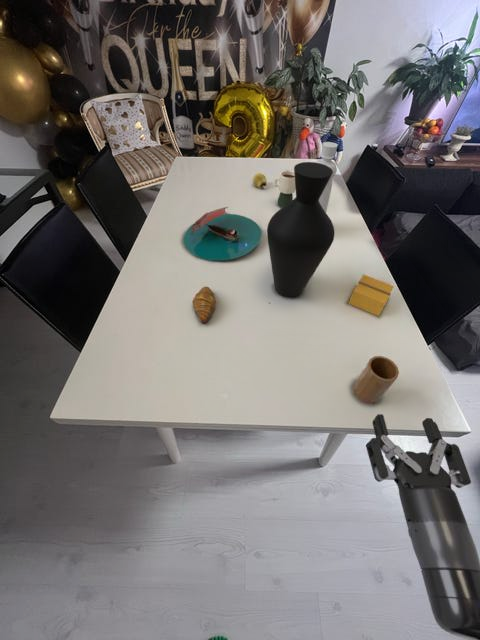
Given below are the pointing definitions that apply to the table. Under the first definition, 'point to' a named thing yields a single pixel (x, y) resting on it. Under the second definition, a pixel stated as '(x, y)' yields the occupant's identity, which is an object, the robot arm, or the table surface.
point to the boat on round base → (222, 236)
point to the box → (371, 294)
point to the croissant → (204, 304)
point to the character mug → (285, 187)
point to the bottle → (327, 156)
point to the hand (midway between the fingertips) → (402, 417)
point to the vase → (300, 231)
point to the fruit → (259, 180)
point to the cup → (375, 379)
